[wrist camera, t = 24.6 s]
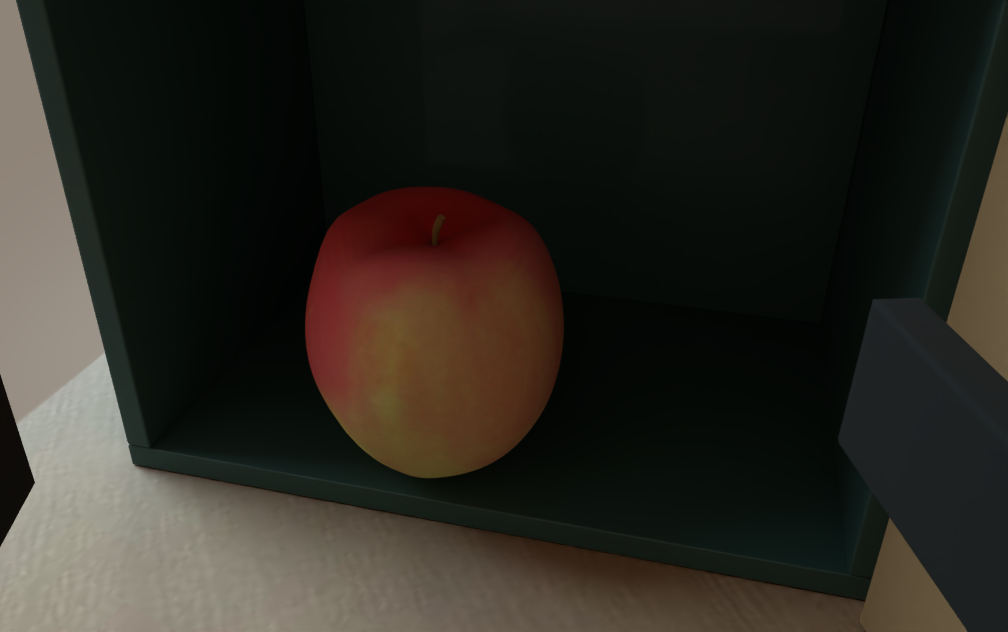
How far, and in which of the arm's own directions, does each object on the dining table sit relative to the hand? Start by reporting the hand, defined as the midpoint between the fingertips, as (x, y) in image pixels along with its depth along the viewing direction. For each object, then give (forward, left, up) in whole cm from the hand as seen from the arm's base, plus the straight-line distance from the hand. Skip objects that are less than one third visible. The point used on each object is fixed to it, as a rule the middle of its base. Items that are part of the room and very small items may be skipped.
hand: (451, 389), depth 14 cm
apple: (-6, +16, -14) cm, 22 cm away
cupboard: (-4, +22, -15) cm, 27 cm away
